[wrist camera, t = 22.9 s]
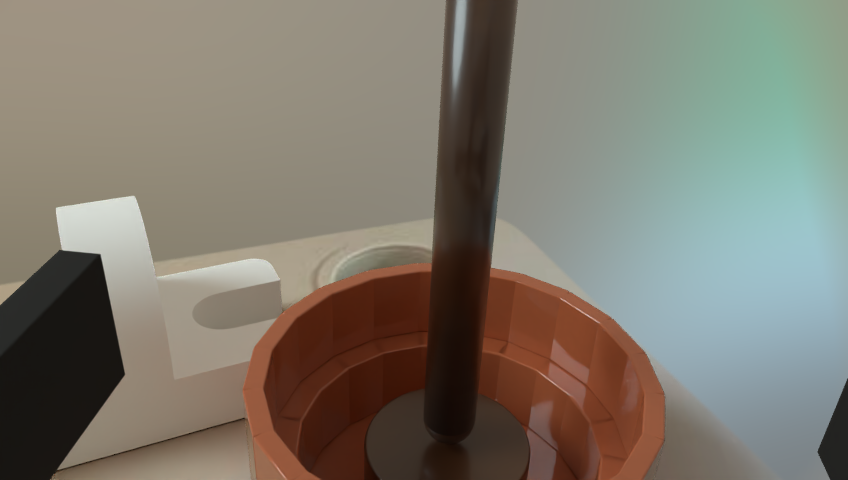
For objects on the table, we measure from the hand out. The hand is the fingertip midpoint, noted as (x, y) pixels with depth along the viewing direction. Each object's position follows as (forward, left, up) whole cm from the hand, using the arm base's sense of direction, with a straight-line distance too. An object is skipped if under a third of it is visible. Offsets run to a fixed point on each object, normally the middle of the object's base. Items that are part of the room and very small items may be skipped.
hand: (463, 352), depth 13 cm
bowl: (+1, -6, -12) cm, 14 cm away
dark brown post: (+1, -7, -11) cm, 13 cm away
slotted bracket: (+15, -8, -12) cm, 21 cm away
